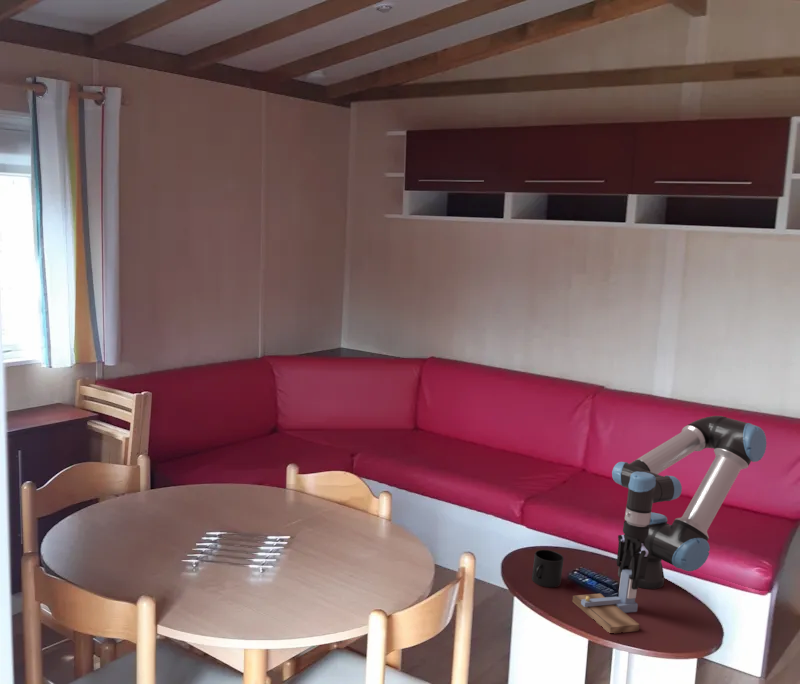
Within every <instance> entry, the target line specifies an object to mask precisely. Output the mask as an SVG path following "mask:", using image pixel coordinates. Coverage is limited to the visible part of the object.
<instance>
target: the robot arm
mask: <svg viewBox="0 0 800 684" xmlns="http://www.w3.org/2000/svg"><path fill="white" fill-rule="evenodd" d="M704 449H713V453H714V455H715V456H714V460H713V461H712V462H711V464H710V466H709V468H708V469H707V472H706V473H705V475H704V477H703V478H702V480H701V482H700V484H699V486H698V487H697V490H696V491H695V492H694V495H693V497H692V499H691V500H690V502H689V504H688V505H687V507H686V509H685V511H684V513H683V514H682V516H680V517H677V518H675V519H674V520H673V522H672V524H669V523H668V521H669V520H668V517H667V516H666V515H664V514H661V513H656V512H654V511H653V512H652V509H653V504H656V503H661V502H670V501H673V500H676V499H678V498H680V496H681V495H682V491H683V490H682V489H683V488H682V483H681V481H680V480H679V479H678V478H677V477H676V476H673V475H660V473H663V471H666V469H668V468H670V467H672V466H674V464H676V463H678V462H679V461H681V460H683V459H685V458H687V456H690V455H691V454H692V453H694V452H701V451H703V450H704ZM766 450H767V436H766V433H765V431H764V430H763V428H761V427H760V426H758V425H755V424H753V423H751V422H745V421H742V420H737V419H733V418H730V417H727V416H723V415H711V416H706V417H702V418H699V419H697V420H694V421H692V422H690V423H688V424H686V425H685V426H684V427H682V429H681V432H680V433H677V434H676V435H674V436H673V437H671V438H669V439H668V440H667V441H664V442H663V443H661V444H659V445H658V446H657V447H654V448H653V449H652V450H650V451H648V452H646V453H645V454H643V455H642V456H641V455H640V457H638V458H637V459H635V460H633V461H632V462H630V463H628V462H627V461H618V462H617V463H616V464H614V466H613V468H612V471H611V476H612V479H613V481H614V482H615V483H616V484H618V485H620V486H622V487H623V488H626V489H627V490H628V491H627V497H626V499H627V500H626V506H625V513H624V521H623V525H622V526H623V528H622V532H623V534H619V535H618V534H617V539H618V546H617V555H616V556H617V557H616V566H617V567H618V572H617V577H618V578H619V582H620V581H621V574H622V570H627V569H632V577H630V578H629V585H628V593H627V598H628V599H631V598H635V599H636V597H637V590H638V588H641V589H648V590H650V589H653V590H655V589H660V588H662V587H663V586H664V584H665V574H664V569H663V563H662V561H663V562H666V563H667V564H669V565H672V566H673V567H675V568H676V569H681V570H683V571H685V572H693V571H697V570H698V569H700V568H701V567H702V566H703V565H704V564H705V563H706V562H707V560H708V559H709V556H710V550H711V547H710V544H709V542H708V541H709V539H710V537H709V534H708V530H709V528H710V526H711V524H712V523H713V521H714V520H715V517H716V516H717V513H718V512H719V510H720V508H721V507H722V504H723V503H724V501H725V499H726V498H727V496H728V494H729V492H730V490H731V488H732V486H733V484H734V483H735V481H736V479H737V478H738V475H739V474H740V471H741V470H745V469H748V467H749V466H750V465H751V462H752V463H756V462H759V461H760V460H762V459H763V457H764V456H765V453H766ZM619 589H620V585H619V588H618V590H619Z"/></svg>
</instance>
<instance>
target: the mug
mask: <svg viewBox="0 0 800 684" xmlns="http://www.w3.org/2000/svg"><path fill="white" fill-rule="evenodd" d="M564 560H565V558H564V556H563V555H562V554H561V553H559V552H557V551H553V550H550V549H539V550H536V551H534V559H533V566H532V573H531V580H532V582H533V583H534V584H536V585H538V586H540V587H545V588H557V587H559V586H560V585H561V584H562V583H561V582H562V577H563V576H562V573H563V567H564Z"/></svg>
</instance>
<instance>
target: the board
mask: <svg viewBox="0 0 800 684" xmlns="http://www.w3.org/2000/svg"><path fill="white" fill-rule="evenodd" d="M586 596H589V597H590V599H594V598H605V596H604V595H603V594H602V593H600V592H599V593H591V594H590V593H588V594H578V595H572V603H574V605H576V606H577V607H578V608H579V609H580V610H581V611H582V612H584V613H585V614H586V615H587V616H588V617H589V618H591V619H592V620H593V619H594V620H595V621H596V622H595V621H594V620H593V621H594V622H595V623H596V624H597V625H599V626H600V627H601V626H602V627H603V630H605V631H606V632H607V633H608V632H609V633H614V634H621V632H623V633H630V632H639V629H640V623H639V622H637V621H636V620H634V619H633V618H632V617H631V616H630V615H628V614H627V613H624V612H623V611H622V610H621V609H619V608H618V607H617V606H615V605H614V604H612V605H601V606H590V607H584V606H583V605H582V604H581V600H582V599H586ZM602 627H601V628H602ZM609 633H608V634H609Z"/></svg>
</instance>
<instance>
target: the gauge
mask: <svg viewBox="0 0 800 684" xmlns="http://www.w3.org/2000/svg"><path fill="white" fill-rule="evenodd" d="M630 577H632V569H627V570H622V574H621V581H620V580H619V586H620V589H619V588H618V596H606V597H605V596H604V597H605V598H594V599H590V597H589V596H586V599H582V600H581V604H582V605H583V606H584V607H590V606H601V605H612V604H614V605H615V606H617V607H618V608H619V609H621V610H622V611H623V612H624V613H626V614H627V613H637V612H638V607H639V606H638V605H639V603H637V601H636V598H631V599H628V598H627V593H628V585H629V578H630Z"/></svg>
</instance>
